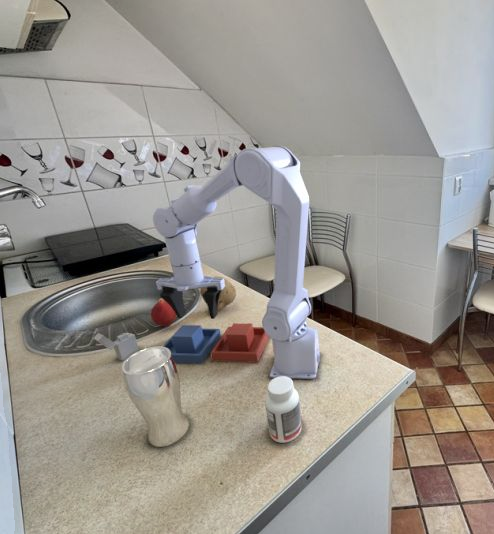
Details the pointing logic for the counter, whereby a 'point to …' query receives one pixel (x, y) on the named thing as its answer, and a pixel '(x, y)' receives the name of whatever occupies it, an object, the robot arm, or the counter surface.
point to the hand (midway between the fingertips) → (198, 316)
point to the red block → (240, 337)
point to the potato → (224, 294)
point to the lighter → (120, 344)
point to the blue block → (188, 339)
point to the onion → (163, 313)
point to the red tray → (253, 355)
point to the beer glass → (156, 394)
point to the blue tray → (210, 340)
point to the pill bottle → (283, 410)
